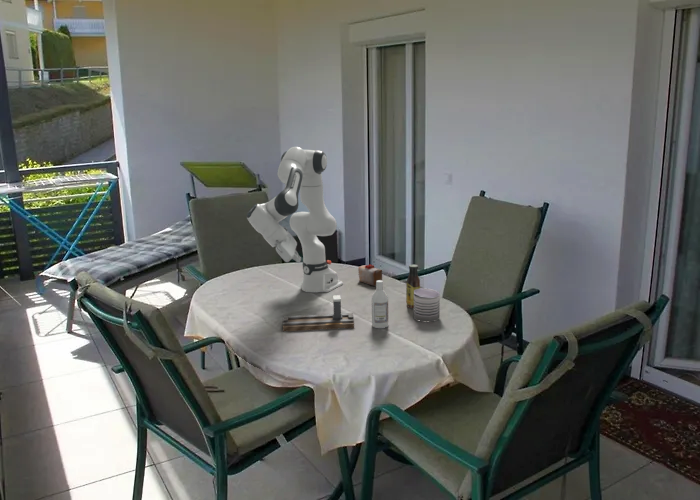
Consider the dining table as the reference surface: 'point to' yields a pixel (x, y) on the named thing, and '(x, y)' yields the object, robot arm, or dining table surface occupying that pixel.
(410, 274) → the sauce bottle
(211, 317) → the dining table surface
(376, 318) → the bath foam
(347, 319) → the fader console
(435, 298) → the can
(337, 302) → the fader knob
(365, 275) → the food item
